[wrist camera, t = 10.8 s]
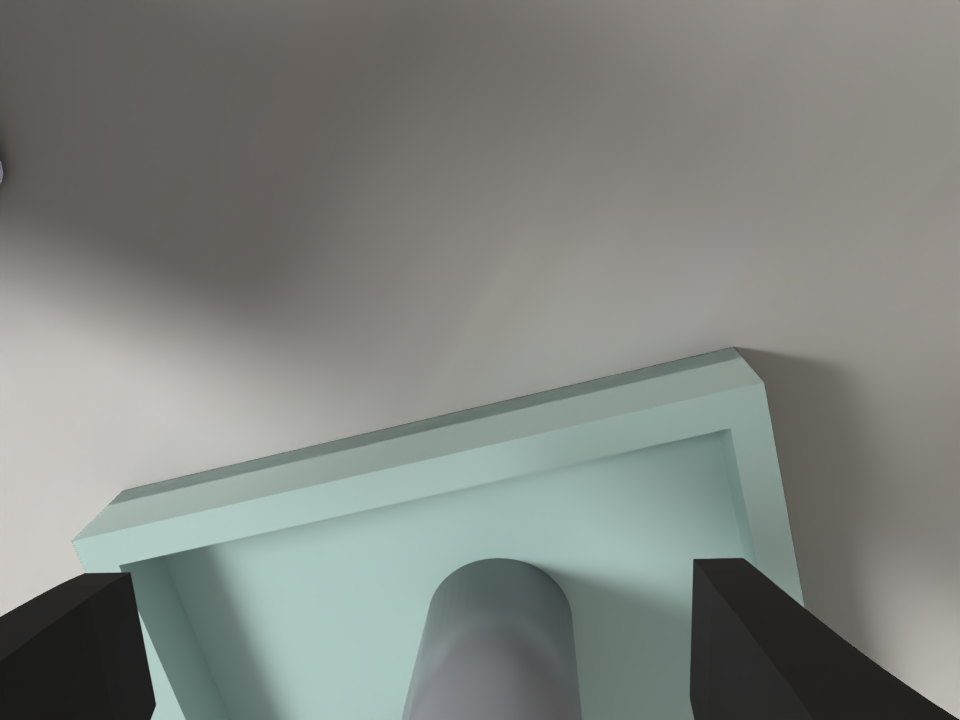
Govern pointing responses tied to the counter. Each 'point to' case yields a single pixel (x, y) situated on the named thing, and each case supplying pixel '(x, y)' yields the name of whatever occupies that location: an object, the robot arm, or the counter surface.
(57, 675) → the robot arm
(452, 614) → the grey rounded piece
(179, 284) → the counter surface
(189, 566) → the sage tray
